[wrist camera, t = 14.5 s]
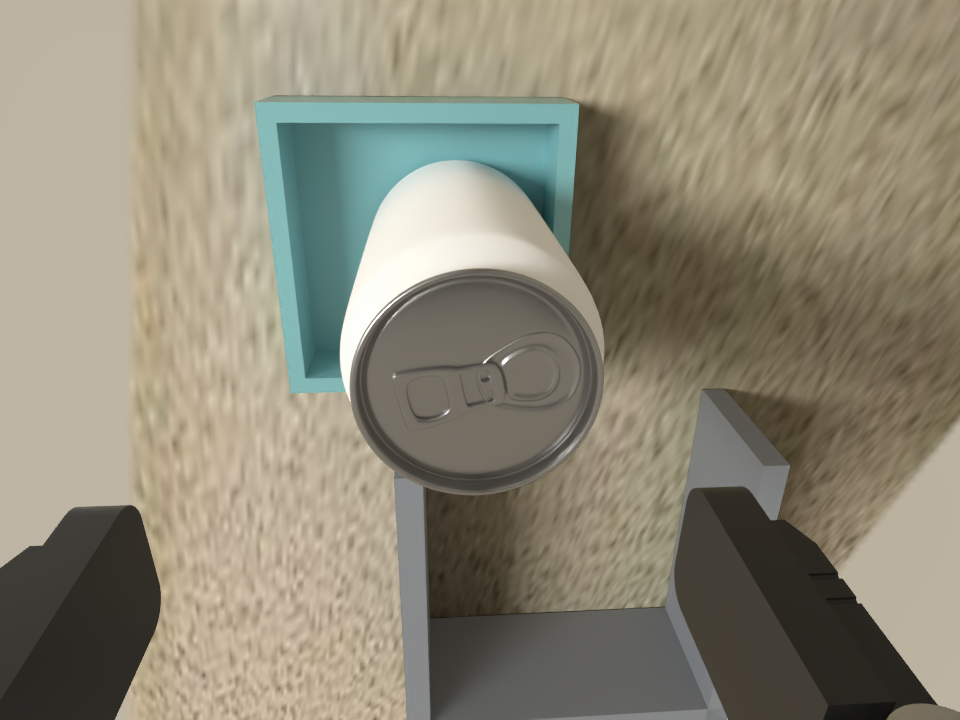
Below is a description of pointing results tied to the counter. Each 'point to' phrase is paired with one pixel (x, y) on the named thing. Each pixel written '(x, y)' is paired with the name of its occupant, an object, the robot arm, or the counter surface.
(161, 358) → the counter surface
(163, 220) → the counter surface
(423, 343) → the can
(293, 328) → the tray
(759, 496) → the bay
